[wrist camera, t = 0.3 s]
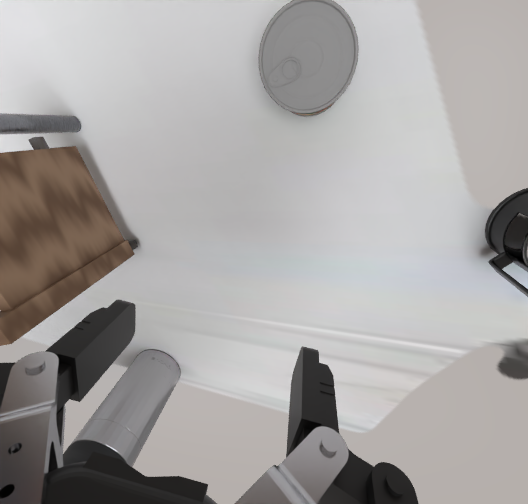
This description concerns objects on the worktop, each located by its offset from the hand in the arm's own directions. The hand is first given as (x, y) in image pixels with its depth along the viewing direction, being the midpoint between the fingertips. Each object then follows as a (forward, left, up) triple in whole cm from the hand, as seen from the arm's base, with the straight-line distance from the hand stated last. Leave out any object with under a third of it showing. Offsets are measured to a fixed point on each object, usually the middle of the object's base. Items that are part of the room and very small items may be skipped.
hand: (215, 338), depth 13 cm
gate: (-14, +21, -28) cm, 38 cm away
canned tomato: (+13, +5, -28) cm, 32 cm away
